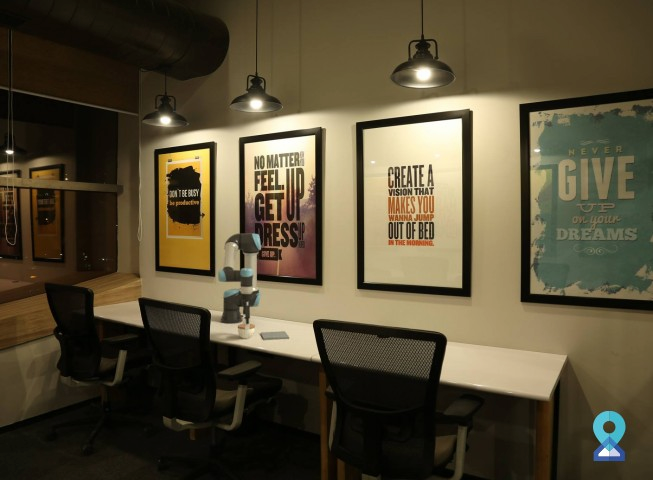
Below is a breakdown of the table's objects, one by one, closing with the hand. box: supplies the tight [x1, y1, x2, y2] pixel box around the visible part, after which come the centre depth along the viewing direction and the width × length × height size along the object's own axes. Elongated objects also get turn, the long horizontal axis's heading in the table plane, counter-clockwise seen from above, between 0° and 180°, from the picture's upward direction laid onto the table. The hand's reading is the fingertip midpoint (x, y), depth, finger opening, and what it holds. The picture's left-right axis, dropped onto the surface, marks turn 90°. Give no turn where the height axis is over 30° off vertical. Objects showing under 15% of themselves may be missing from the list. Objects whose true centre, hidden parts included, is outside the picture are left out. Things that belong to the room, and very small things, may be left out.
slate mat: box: [260, 330, 290, 341], centre depth 305 cm, size 16×16×1 cm
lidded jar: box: [237, 323, 256, 340], centre depth 300 cm, size 11×11×9 cm
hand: (246, 326), depth 299 cm, fingers open, 13 cm apart
